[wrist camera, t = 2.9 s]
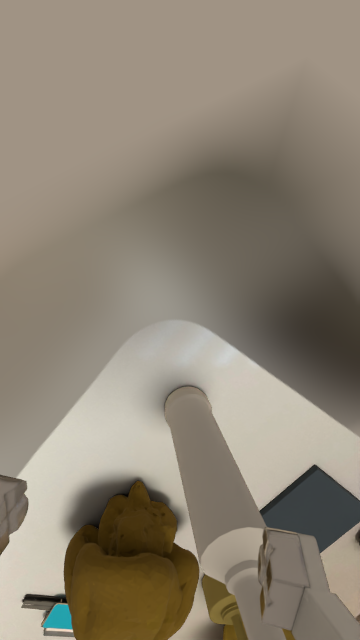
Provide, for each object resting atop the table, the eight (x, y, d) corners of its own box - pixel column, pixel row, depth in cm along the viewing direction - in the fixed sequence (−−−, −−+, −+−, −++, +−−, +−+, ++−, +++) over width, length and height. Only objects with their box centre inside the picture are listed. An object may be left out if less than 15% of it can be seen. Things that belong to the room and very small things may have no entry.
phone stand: (176, 582, 49) (178, 594, 47) (140, 630, 52) (141, 643, 50) (43, 565, 42) (40, 579, 40) (10, 621, 45) (7, 637, 43)
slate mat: (314, 464, 45) (318, 468, 44) (368, 507, 51) (371, 512, 51) (231, 535, 47) (233, 540, 46) (292, 568, 54) (295, 573, 53)
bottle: (167, 427, 37) (256, 798, 15) (158, 391, 35) (245, 759, 13) (210, 415, 38) (359, 754, 15) (204, 379, 36) (364, 710, 13)
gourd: (98, 568, 44) (95, 722, 31) (50, 502, 38) (23, 659, 25) (192, 528, 45) (227, 662, 32) (161, 458, 39) (188, 588, 26)
